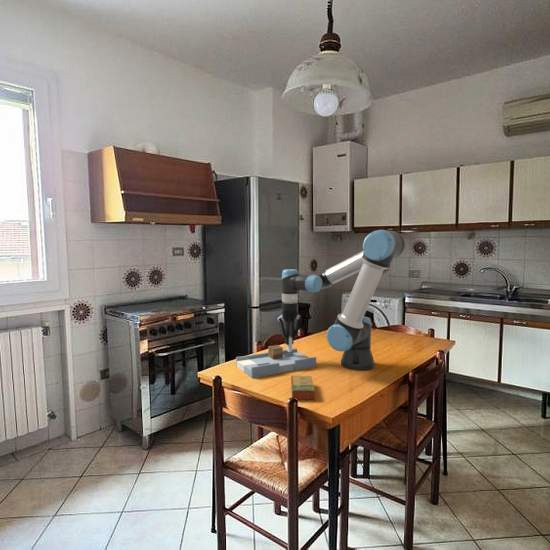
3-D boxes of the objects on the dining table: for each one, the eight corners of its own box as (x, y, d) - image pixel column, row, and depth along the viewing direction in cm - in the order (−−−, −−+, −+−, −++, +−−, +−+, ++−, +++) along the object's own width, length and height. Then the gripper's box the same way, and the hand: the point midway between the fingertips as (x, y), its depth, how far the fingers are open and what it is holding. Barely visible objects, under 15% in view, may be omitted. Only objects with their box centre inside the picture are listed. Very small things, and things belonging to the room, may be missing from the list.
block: (282, 358, 186) (282, 347, 186) (273, 359, 184) (273, 348, 184) (277, 355, 191) (277, 345, 190) (268, 356, 189) (268, 346, 188)
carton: (311, 385, 160) (311, 375, 159) (315, 401, 144) (315, 390, 143) (290, 385, 160) (290, 375, 159) (292, 401, 144) (292, 389, 143)
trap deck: (316, 366, 182) (316, 357, 182) (252, 378, 168) (252, 367, 167) (296, 357, 198) (296, 348, 198) (236, 366, 183) (236, 357, 183)
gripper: (297, 300, 195) (297, 347, 197) (273, 301, 189) (273, 350, 191) (305, 302, 188) (305, 351, 190) (281, 304, 182) (281, 354, 184)
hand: (289, 351), depth 191 cm, fingers closed
